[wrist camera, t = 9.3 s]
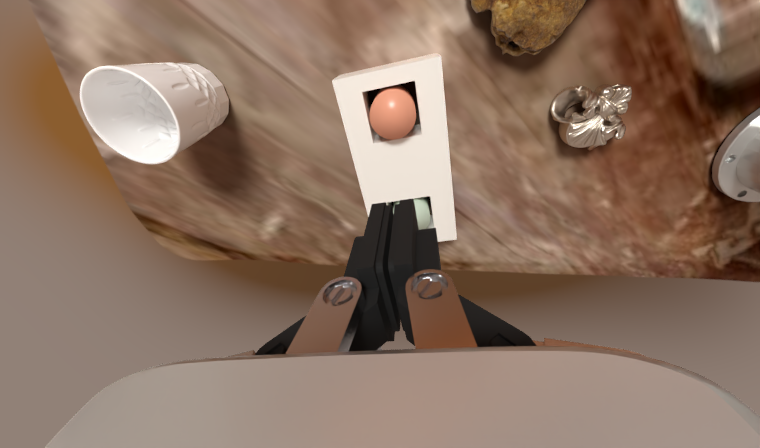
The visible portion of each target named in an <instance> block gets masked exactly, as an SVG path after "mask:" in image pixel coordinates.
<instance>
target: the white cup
mask: <svg viewBox="0 0 760 448" xmlns="http://www.w3.org/2000/svg"><path fill="white" fill-rule="evenodd" d="M80 101H81V105H82V109H83V111H84V114H85V116H86V118H87V120H88V122H89V123H90V125H91V127H92V128H93V129H94V131H95V132H96V133H97V135H98V136H99V137H100V138H101V139H102V140H103V141H104V142H105V143H106V144H107V145H108V146H110V147H111V148H112V149H114V150H115V151H116V152H118V153H119V154H121V155H123V156H125V157H127V158H129V159H131V160H134V161H136V162H140V163H144V164H160V163H163V162H166V161H168V160H170V159H171V158H173V157H174V156H176V155H177V154H179V153H180V152H182V151H183V150H185V149H187V148H188V147H190V146H191V145H193V144H194V143H196V142H197V141H199V140H200V139H201V138H203V137H204V136H206V135H207V134H209V133H210V132H211V131H212V130H213V129H214V128H216V127H217V126H219V125H221V124H222V123H223V122H224V120H225V118H226V117H227V115H228V113H229V99H228V96H227V94H226V91H225V88H224V86H223V84H222V83H221V82H220V81H219V80H218V79H217V77H216V76H215V75H214V74H213V73H212V72H211V71H209V70H207V69H206V68H204V67H202V66H200V65H199V64H193V63H143V64H129V65H114V66H101V67H97V68H95V69H93V70H91V71H90V72H88V73H87V74H86V76H85V77H84V78H83V80H82V83H81V87H80Z"/></svg>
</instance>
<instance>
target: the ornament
mask: <svg viewBox="0 0 760 448" xmlns="http://www.w3.org/2000/svg"><path fill="white" fill-rule="evenodd" d="M631 93H632V90H631V87H630V86H628V85H623V84H620V85H613V86H610V85H602V86H599V87H598V88H597V89H596V90H595V92H592V91H591V90H590V89H589V88H587V87H585V86H575V87H569V88H566V89H564V90H563V91H561V92H560V93H559V94H558V95H557V96H556V97H555V98H554V100H553V102H552V104H551V109H550V111H551V115H552V117H553V120H555V121H558V122H560V124H559V135H560V137H561V139H562V140H563V141H564V142H565V143H566V144H568V145H570V146H573V147H577V148H584V147H588V148H587V149H588V150H593V149H594V148H596V147H597V146H599V145H605V144H606V143H607V140H609V139H610V138H612V137H614V138H615V139H621V138H622V137H623V136H624V133H625V130H626V126H625V124H623V121H621V117H619V116H617V114H620V115H622V114H624V113H625V112H626V111H627V108H628V103H627V102H629V101H630V99H631ZM580 102H583V104H582V107H583V108H586V109H585V111H583V112H581V113H579V114H578V113H576V112H574V113H573V114H572V116H571V117H566V118H565V117H564V116H565V113H566V111H567V109H568V108H569V107H570V106H572V105H574V104H576V103H580Z"/></svg>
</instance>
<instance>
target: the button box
mask: <svg viewBox="0 0 760 448" xmlns="http://www.w3.org/2000/svg"><path fill="white" fill-rule="evenodd" d="M411 81H414V82H415V89H416V97H417V104H418V112H419V119H420V124H418V125H414V126H413V128H412V130H411V131H410V132H409V133H408V134H407V135H406V136H404V137H402V138H400V139H394V140H391V139H386V138H383V137H381V136H380V135H378V134H377V133H376V132H375V131H374V129H373V127H372V125H371V123H370V116H369V114H370V108H371V105H370V101H369V96H368V91H370V90H374V89H379V88H384V87H388V86H393V85H397V84H402V83H407V82H411ZM332 82H333V86H334V90H335V94H336V97H337V101H338V105H339V109H340V112H341V116H342V120H343V124H344V127H345V131H346V135H347V139H348V142H349V146H350V150H351V154H352V157H353V161H354V165H355V169H356V172H357V176H358V180H359V184H360V187H361V191H362V195H363V199H364V202H365V206H366V210H367V214H368V217H369V214H370V210H371V206H372V204H376V203H383V202H386V204H387V205H391V206H392V204H391V202H394V201H400V200H405V199H414V198H420V197H427V196H430V202H431V210H432V215H430V223H429V226H428V227H427V228H426V229H429V228H436V232H437V240H438V242H441V241H449V240H457V235H456V224H455V212H454V200H453V189H452V177H451V165H450V154H449V142H448V131H447V119H446V107H445V96H444V84H443V72H442V61H441V56H440V55H439V54H438V53H434V54H430V55H426V56H421V57H417V58H412V59H408V60H404V61H399V62H395V63H390V64H386V65H382V66H377V67H373V68H369V69H364V70H360V71H355V72H351V73H347V74H342V75H339V76H338V77H336V78H335V79H334V80H332ZM392 210H393V209H392Z"/></svg>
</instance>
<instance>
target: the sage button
mask: <svg viewBox="0 0 760 448" xmlns="http://www.w3.org/2000/svg"><path fill="white" fill-rule="evenodd" d="M395 204H399V201H394V202H393V214H394V207H395ZM414 204H415V210H416V216H417V222H418V228H419V230H421V229H426V228H427V227H428V226H429V223H430V211H429V205H428V199H427V197H420V198H414Z"/></svg>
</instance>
